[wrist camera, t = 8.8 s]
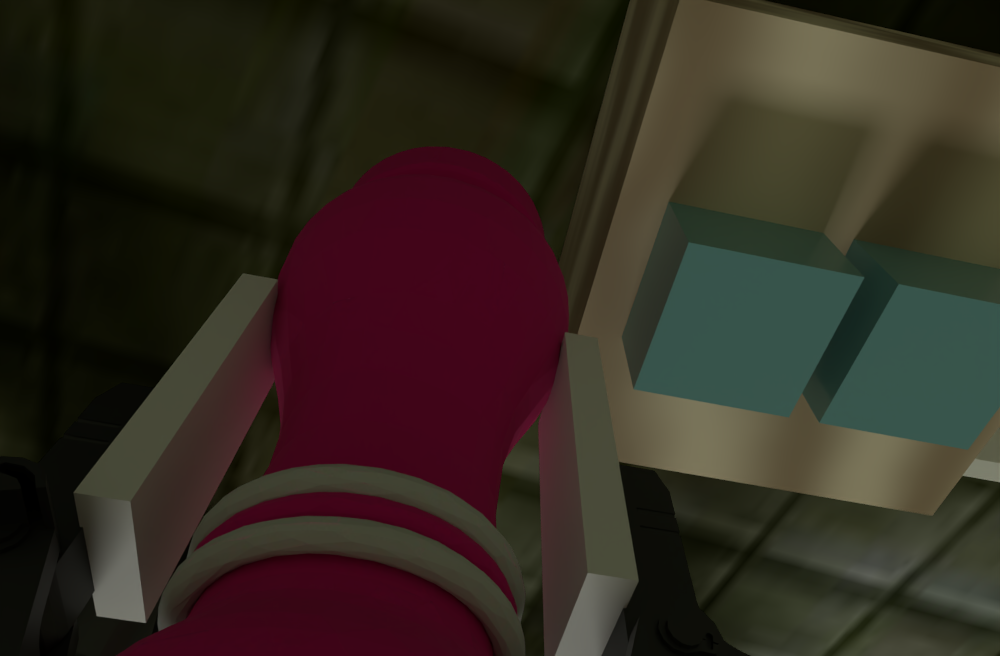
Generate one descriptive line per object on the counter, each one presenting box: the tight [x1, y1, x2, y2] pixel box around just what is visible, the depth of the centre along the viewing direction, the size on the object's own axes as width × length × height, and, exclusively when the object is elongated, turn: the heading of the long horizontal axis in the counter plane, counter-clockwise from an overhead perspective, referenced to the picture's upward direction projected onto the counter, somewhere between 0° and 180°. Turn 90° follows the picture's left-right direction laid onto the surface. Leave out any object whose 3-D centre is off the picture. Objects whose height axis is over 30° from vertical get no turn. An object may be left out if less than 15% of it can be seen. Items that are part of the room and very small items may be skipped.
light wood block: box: [541, 0, 1000, 516], centre depth 26 cm, size 16×16×8 cm
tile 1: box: [802, 239, 1000, 450], centre depth 21 cm, size 5×5×3 cm
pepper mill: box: [116, 147, 569, 656], centre depth 12 cm, size 7×7×20 cm
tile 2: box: [622, 202, 864, 417], centre depth 21 cm, size 5×5×3 cm
